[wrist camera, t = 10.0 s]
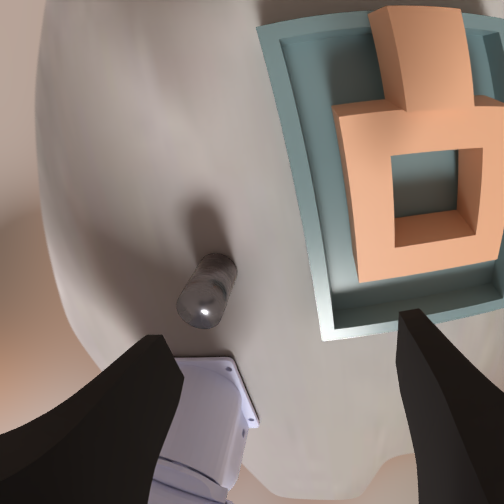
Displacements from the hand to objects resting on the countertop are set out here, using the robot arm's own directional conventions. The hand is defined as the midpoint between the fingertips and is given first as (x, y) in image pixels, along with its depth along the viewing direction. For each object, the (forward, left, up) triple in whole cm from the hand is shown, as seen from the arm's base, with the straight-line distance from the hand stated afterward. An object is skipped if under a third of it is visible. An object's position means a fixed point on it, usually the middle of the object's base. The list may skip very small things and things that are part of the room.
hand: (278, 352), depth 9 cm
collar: (+4, -7, -8) cm, 11 cm away
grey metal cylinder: (-2, +5, -9) cm, 11 cm away
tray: (+2, -7, -9) cm, 12 cm away
